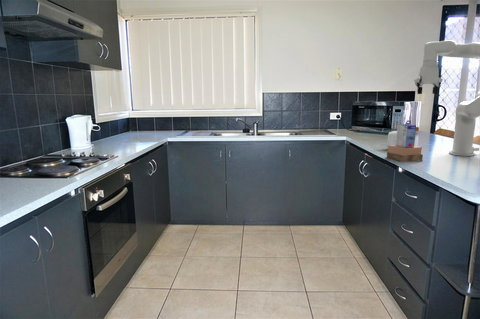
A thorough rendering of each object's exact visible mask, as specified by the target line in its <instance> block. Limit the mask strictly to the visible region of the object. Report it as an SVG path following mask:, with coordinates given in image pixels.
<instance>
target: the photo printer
mask: <svg viewBox="0 0 480 319" xmlns="http://www.w3.org/2000/svg"><path fill="white" fill-rule="evenodd" d="M396 137H397V130H394V131H389V132H388V134H387V141H386V142H387V143H386V150H388V145H396Z"/></svg>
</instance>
